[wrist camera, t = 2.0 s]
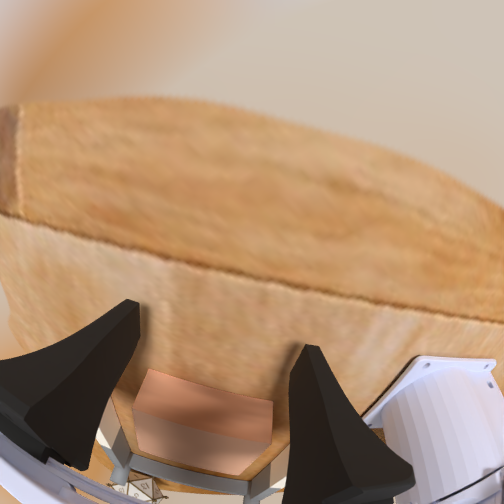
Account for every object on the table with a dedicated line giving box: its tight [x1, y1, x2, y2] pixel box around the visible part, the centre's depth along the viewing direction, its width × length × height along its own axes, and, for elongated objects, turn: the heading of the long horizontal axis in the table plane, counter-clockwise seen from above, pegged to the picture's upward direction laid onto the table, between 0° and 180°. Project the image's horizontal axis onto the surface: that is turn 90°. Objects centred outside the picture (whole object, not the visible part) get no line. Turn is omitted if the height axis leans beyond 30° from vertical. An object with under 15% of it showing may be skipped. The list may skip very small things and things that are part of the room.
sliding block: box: [132, 368, 273, 475], centre depth 16 cm, size 8×8×4 cm
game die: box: [107, 471, 168, 504], centre depth 26 cm, size 9×8×10 cm
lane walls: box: [96, 396, 290, 488], centre depth 17 cm, size 17×10×3 cm, turn 77°
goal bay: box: [101, 426, 282, 504], centre depth 21 cm, size 18×11×5 cm, turn 77°
